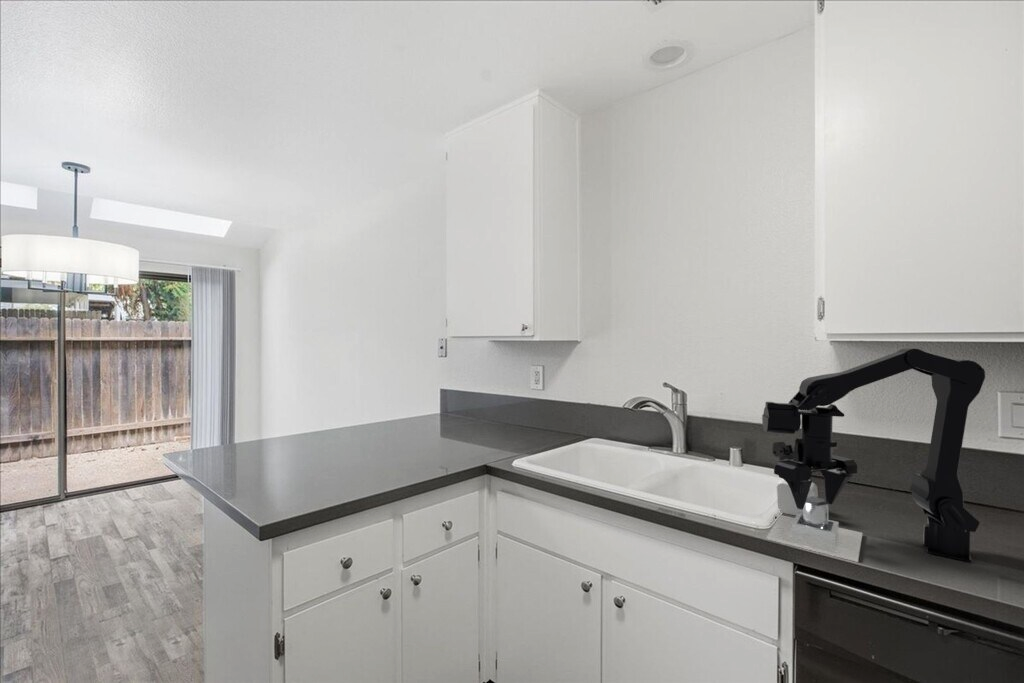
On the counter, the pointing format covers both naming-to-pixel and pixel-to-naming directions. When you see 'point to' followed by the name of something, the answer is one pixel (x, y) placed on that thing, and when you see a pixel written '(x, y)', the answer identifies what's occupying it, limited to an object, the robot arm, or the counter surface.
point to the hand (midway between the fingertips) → (814, 506)
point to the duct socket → (817, 537)
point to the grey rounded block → (791, 497)
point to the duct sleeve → (816, 513)
